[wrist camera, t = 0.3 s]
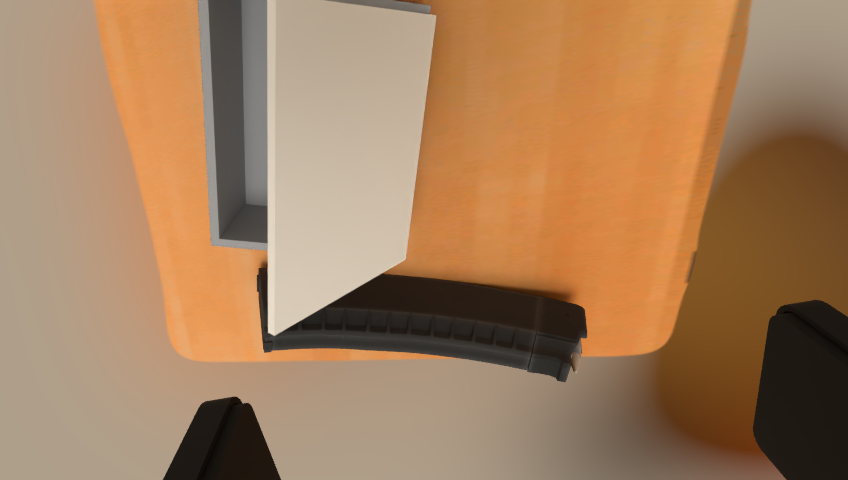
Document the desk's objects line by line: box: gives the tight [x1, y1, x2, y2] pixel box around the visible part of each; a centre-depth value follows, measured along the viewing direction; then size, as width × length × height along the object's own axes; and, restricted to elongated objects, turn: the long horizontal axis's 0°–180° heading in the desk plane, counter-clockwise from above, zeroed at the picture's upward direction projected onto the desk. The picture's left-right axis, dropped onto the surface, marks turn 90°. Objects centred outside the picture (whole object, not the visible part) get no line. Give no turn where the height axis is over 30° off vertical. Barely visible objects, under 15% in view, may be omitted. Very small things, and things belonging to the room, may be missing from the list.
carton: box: [198, 0, 431, 251], centre depth 38 cm, size 18×14×8 cm
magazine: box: [257, 268, 587, 382], centre depth 44 cm, size 17×3×30 cm
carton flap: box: [267, 0, 437, 336], centre depth 29 cm, size 17×13×1 cm
